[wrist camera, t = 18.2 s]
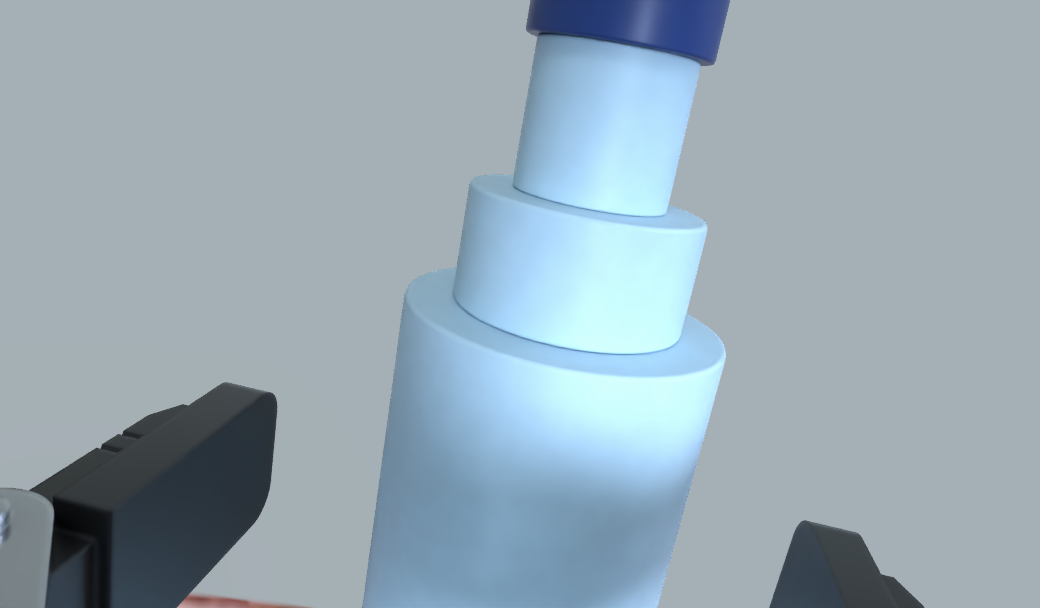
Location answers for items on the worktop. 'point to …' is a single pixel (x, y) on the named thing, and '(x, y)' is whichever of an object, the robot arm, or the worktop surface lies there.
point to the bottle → (559, 340)
